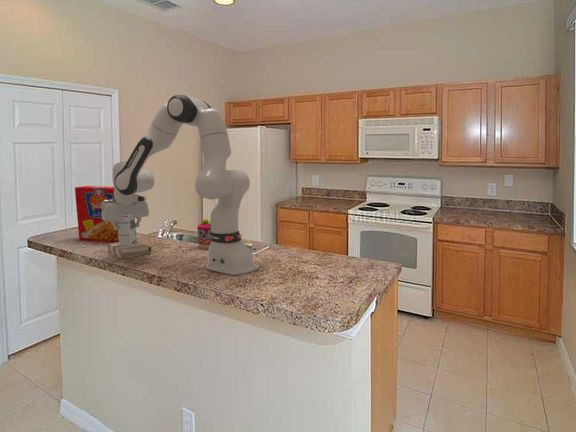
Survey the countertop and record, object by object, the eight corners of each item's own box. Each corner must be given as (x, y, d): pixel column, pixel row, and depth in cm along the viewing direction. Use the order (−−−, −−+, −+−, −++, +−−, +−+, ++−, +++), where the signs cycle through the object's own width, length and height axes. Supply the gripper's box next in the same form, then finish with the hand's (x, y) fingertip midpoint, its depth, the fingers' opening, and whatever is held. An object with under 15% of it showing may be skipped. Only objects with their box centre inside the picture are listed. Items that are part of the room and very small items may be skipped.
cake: (200, 250, 182) (199, 219, 180) (195, 245, 192) (194, 215, 189) (222, 248, 187) (221, 217, 184) (216, 243, 196) (215, 214, 194)
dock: (151, 253, 177) (150, 244, 176) (122, 259, 167) (122, 250, 167) (136, 247, 188) (135, 239, 187) (108, 252, 178) (107, 243, 178)
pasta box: (79, 240, 201) (74, 187, 196) (90, 237, 209) (86, 185, 204) (125, 244, 194) (121, 188, 189) (135, 240, 202) (132, 187, 197)
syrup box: (131, 246, 173) (129, 214, 171) (118, 246, 174) (116, 214, 171) (137, 242, 179) (134, 212, 176) (124, 243, 179) (121, 212, 177)
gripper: (103, 201, 163) (106, 232, 166) (149, 197, 178) (151, 226, 180) (98, 199, 168) (100, 230, 170) (143, 196, 182) (145, 224, 184)
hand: (127, 228), depth 175 cm, fingers open, 8 cm apart
